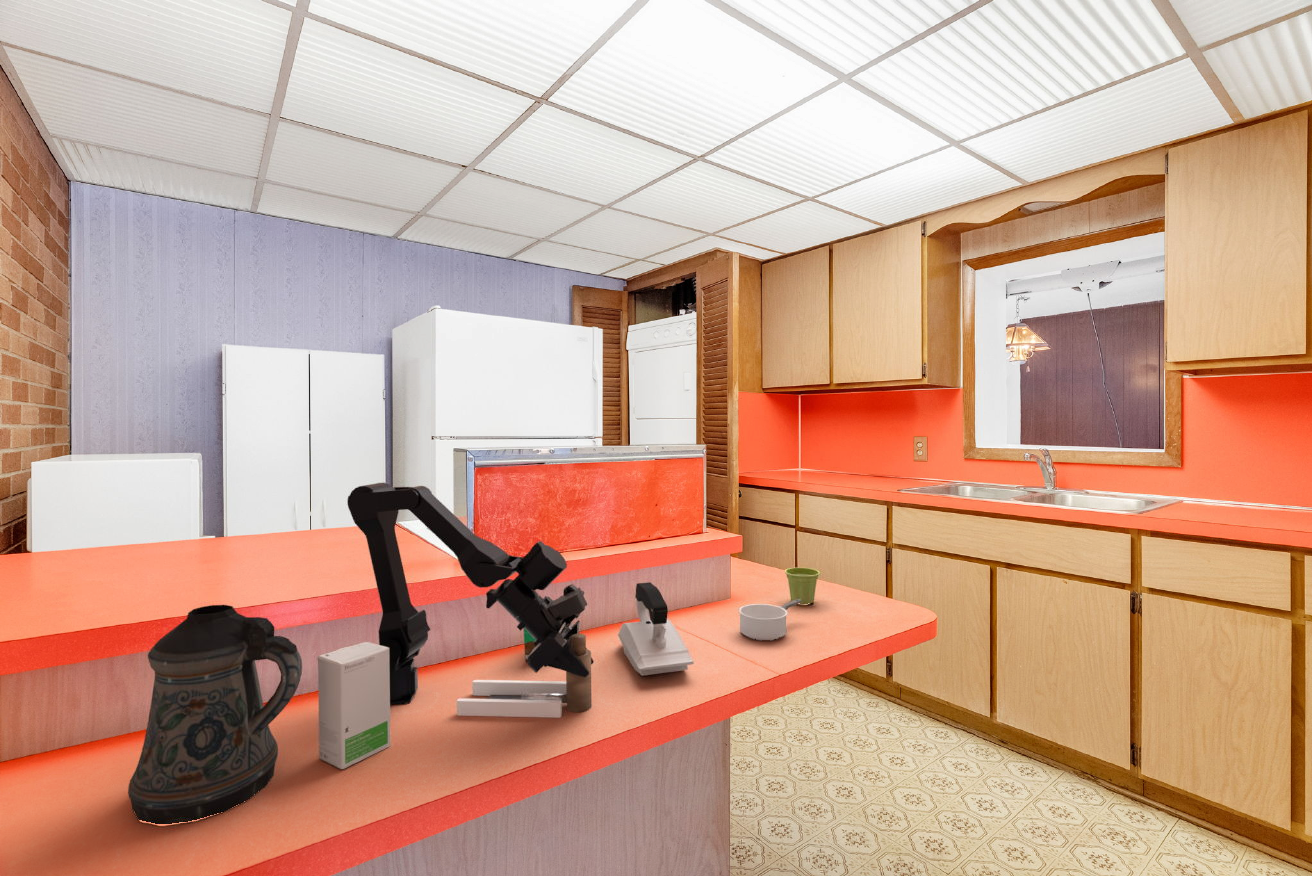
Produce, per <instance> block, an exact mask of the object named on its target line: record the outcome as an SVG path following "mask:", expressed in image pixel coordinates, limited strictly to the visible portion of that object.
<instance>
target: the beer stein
mask: <svg viewBox="0 0 1312 876" xmlns="http://www.w3.org/2000/svg"><path fill="white" fill-rule="evenodd" d="M275 628H276V627H275V626H274V625H273V623H272V622H271V621H270V620H269V619H268V618H267V617H262V616H261V617H260V616H257V617H256V616H253V617H252V616H251V617H247V616H244V615H242V614H241V613H238V612H237V610H236V609H235V607H234V606H233V605H227V604H211V605H204V606H200V607H197V608H193V609H192V610H190V611H189V612H188V613H187V617H186V619H185V620H183V621H182V622H180V623H179V624H178V625H177V626H175V627H174V628H173V629H172V630H170V631H169V632H167V633H166V634H165V635H163V636H161V638H159V640H158V641H156V643H155V644H154V645H153V646H152V648H150V650H149V652H148V653H147V660H148V662H149V665H150V668H151V669H152V671H154V680H153V681H154V682H153V688H152V695H151V701H150V708H149V714H148V721H147V726H146V729H145V734H144V735H145V736H144V739H143V740H144V741H143V746H142V749H141V753H140V757H139V760H138V763H137V765H136V768H135V770H134V772H133V773H132V777H131V778H130V780H129V783H128V787H127V788H128V790H127V795H128V797H129V799H130V802H131V810H132V812H133V813H134V812H135V813H134V815H135V814H136V815H135V817H136V816H137V817H136V819H137V818H138V819H139V820H142V821H146V822H151V823H155V824H172V823H179V822H188V821H192V820H197V819H200V818H204V817H207V816H210V815H214V814H217V813H221V812H224V811H226V810H228V809H230V808H232V807H234V806H236V805H238V804H240V805H242V804H244V803H245V802H244V801H246V800H248V799H249V800H251V798H250V797H252V796H253V797H254V796H255V795H257V794H258V793H259V792H260V790H261V789H262V788H263V789H265V786H266V785H267V786H268V785H269V783H270V781H271V780H272V778H273V777H274V775H275V769H276V768H275V766H276V764H277V763H276V762H277V760H278V759H277V758H278V755H279V747H278V742H277V740H276V739H275V737H274V735H273V733H272V731H271V729H270V724H271V723H272V722H273V721H274V720H276V718H277V717H278V716H279V715H280V713H281V712H283V710H284V709H285V708H286V707H287V705H288V704H289V703H290V702H291V700H292V699H293V697H294V695H295V693H296V691H297V689H298V687H299V684H300V682H301V677H302V675H303V674H302V673H303V659H302V656H301V654H300V653H299V651H298V648H297V645H296V644H295V643H294V642H292V641H291V640H290V639H289V638H287V637H285V636H282V635H275ZM262 660H269V661H271V662H274V663H275V664H277V667H278V669H279V671H280V672H279V673H280V681H279V683H278V686H276V690H275V692H274V693H273V695H272V696H271V697H270V699H269V700H268V701H267V702H266V703H265V704H264V700H263V696H262V691H261V690H262V689H261V684H260V680H259V679H260V678H259V674H258V670H257V664H256V663H257V662H256V661H262ZM270 779H271V780H270ZM268 782H269V783H268ZM267 786H266V787H267ZM263 789H262V790H263ZM262 790H261V791H262ZM258 791H259V792H258ZM257 792H258V793H257ZM256 793H257V794H256ZM254 794H255V795H254ZM253 797H252V798H253ZM249 800H248V801H249ZM243 802H244V803H243ZM246 802H247V801H246ZM241 803H242V804H241ZM238 806H239V805H238ZM236 807H237V806H236ZM234 808H235V807H234ZM232 809H233V808H232ZM230 810H231V809H230ZM228 811H229V810H228ZM226 812H227V811H226ZM224 813H225V812H224ZM221 814H222V813H221ZM138 819H137V820H138Z"/></svg>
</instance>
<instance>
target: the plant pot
mask: <svg viewBox="0 0 1312 876" xmlns="http://www.w3.org/2000/svg"><path fill="white" fill-rule="evenodd" d="M784 573H785V574H786V578H787V580H788V588H789V589H788V590H789V595H790V596H789V597H790V602H791V601H794V600H796V599H800V600H801V602H800V604H808V603H813V602H814V603H815V595H816V587H817V581H818V579H819V576H820V574H821V573H820V571H819V570H817V569H815V568H812V567H811V568H810V567H791V568H790V567H789V568H786V569H784ZM814 603H813V604H814Z"/></svg>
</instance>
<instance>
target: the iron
mask: <svg viewBox="0 0 1312 876" xmlns="http://www.w3.org/2000/svg"><path fill="white" fill-rule="evenodd" d="M635 601H636V603H635V604H636V611H637V617H638V619H639V621H634V622H624V623H621V626H620V629H619V632H618V634H617V636H618V638H619V640H620V642H621V646H622V647H623V653H624V655H625V656H626V657H627V659H628V661H629V662H630V663H629V664H631V666H632V667H633V669H634V670H635V672H636V673H638V674H640V676H642V677H643V676H649V675H657V674H663V673H673V672H679V671H688V670H689V667H688V665H689V666H691V665H694V664H695V661H694V660H693V658H692V657H691V654H690V651H689V648H687V647H686V644H685V642H684V641H683V638H682V637H681V636H680V633H679V632H678V630H677V629H676V627H675V625H674V624H673V623H672V622H671V620H670V619H668V611H669V609H668V605H667V602H666V601H665V599H664V598H663V594H662V593H661V591H660V589H659V588H658V587H657V586H655V585H654V584H652V582H638V583H636V586H635Z"/></svg>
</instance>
